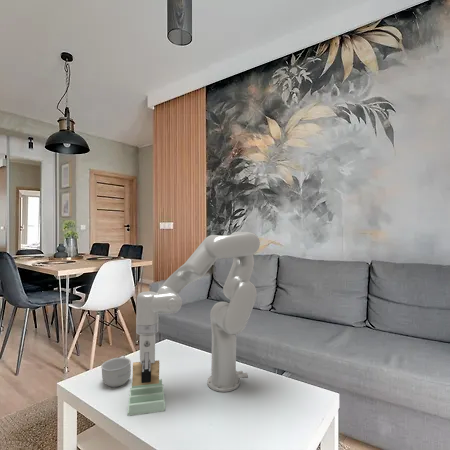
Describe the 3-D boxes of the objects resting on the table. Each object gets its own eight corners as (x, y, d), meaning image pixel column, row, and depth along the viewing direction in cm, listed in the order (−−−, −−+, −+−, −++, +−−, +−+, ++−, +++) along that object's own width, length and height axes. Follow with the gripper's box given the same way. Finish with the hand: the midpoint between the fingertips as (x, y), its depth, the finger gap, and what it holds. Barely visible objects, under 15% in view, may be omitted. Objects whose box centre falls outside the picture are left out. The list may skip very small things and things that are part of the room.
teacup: (121, 392, 114) (121, 370, 114) (95, 388, 116) (95, 367, 116) (139, 374, 128) (139, 354, 128) (115, 371, 130) (115, 352, 130)
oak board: (158, 379, 111) (159, 360, 111) (159, 383, 109) (159, 363, 109) (132, 382, 109) (133, 362, 109) (132, 386, 107) (132, 365, 107)
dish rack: (163, 386, 118) (163, 378, 118) (165, 410, 103) (165, 401, 103) (130, 390, 115) (130, 381, 115) (127, 415, 100) (127, 405, 100)
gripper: (158, 335, 102) (157, 390, 102) (157, 320, 118) (156, 368, 118) (135, 336, 100) (133, 393, 100) (137, 321, 116) (136, 370, 116)
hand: (146, 379), depth 109 cm, fingers closed on oak board, 2 cm apart
